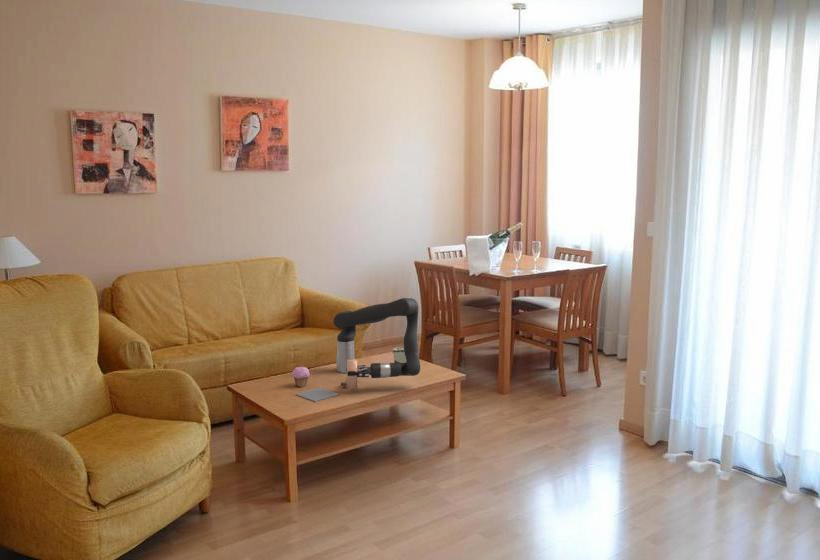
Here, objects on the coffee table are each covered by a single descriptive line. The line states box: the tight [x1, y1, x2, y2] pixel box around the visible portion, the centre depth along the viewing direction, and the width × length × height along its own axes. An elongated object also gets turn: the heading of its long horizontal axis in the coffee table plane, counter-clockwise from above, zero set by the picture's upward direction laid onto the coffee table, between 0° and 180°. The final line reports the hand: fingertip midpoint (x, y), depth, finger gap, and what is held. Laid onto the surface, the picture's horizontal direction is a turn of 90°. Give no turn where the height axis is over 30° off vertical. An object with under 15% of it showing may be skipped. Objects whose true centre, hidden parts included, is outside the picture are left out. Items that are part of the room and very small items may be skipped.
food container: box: [391, 346, 407, 363], centre depth 412 cm, size 12×6×10 cm, turn 84°
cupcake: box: [291, 366, 311, 388], centre depth 374 cm, size 9×9×10 cm
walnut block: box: [340, 379, 348, 389], centre depth 374 cm, size 5×5×2 cm
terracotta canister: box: [346, 358, 358, 390], centre depth 365 cm, size 5×5×14 cm
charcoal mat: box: [295, 387, 340, 403], centre depth 360 cm, size 15×15×1 cm
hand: (346, 372), depth 364 cm, fingers closed on terracotta canister, 5 cm apart
